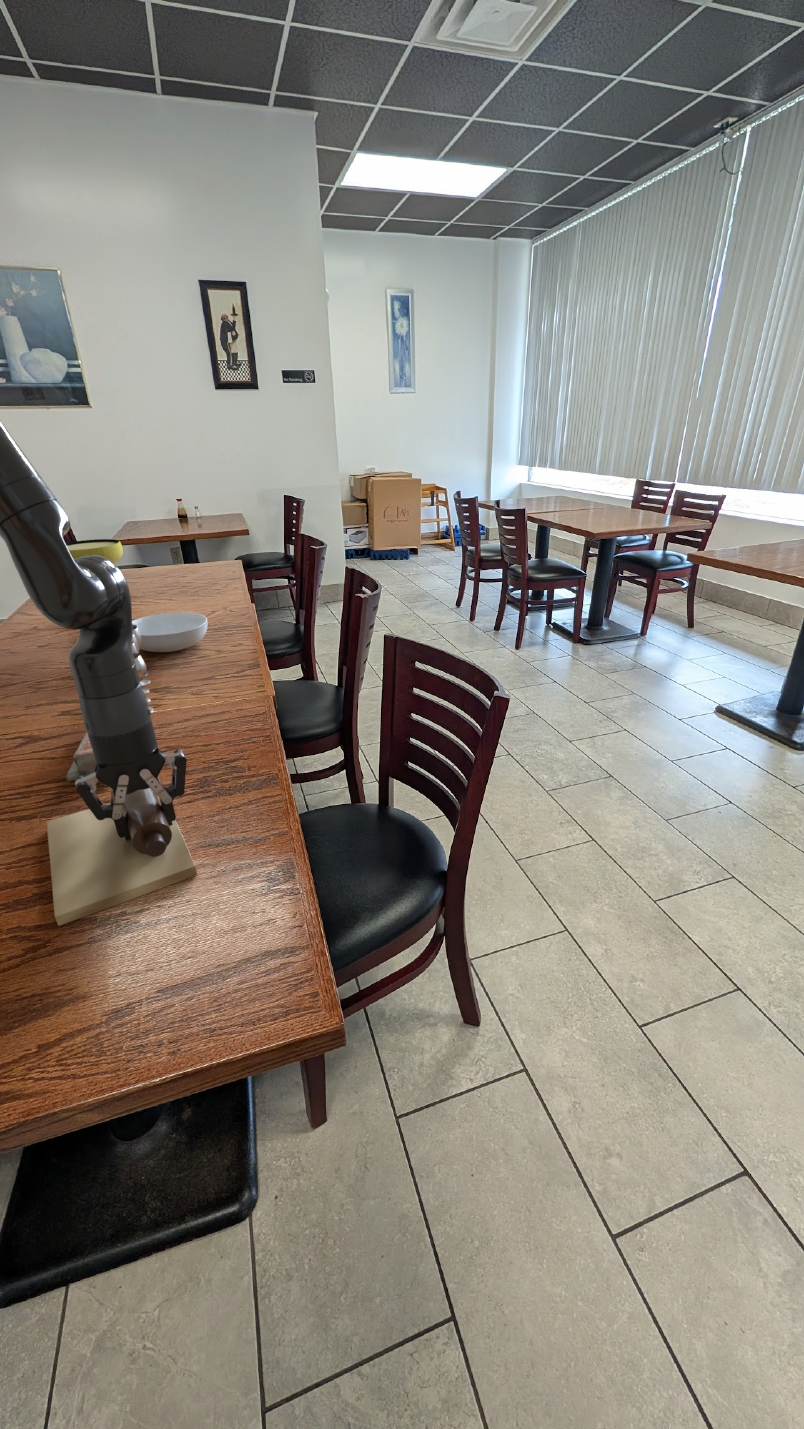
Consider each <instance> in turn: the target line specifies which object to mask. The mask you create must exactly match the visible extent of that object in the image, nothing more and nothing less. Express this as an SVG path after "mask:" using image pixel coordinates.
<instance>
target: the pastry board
mask: <svg viewBox="0 0 804 1429" xmlns="http://www.w3.org/2000/svg"><path fill="white" fill-rule="evenodd" d="M157 797H158V796H157ZM158 800H159V802H160V799H159V797H158ZM103 805H110V802H108V803H105V804H104V803H103ZM160 805H161V803H160ZM169 827H170V829H171V832H172V838H171V841H170V843H169V845H168V846H167V847H166V850H165V852H164V853H163V854H162V855H160V856H157V857H151V856H149V855H148V854H142V853H140V852H138V851H137V850H136V849H135V848H134V846H133V843H132V840H131V839H129V840H125V837H122V838H120V837H119V836H118V833H117V830H116V826H115V823H114V820H113V819H111V818H105V819H104V820H98V819H96V817H95V816H94V814H93V813H92V812H91V810H90V809H89V808H87V809H85V810H80V811H77V812H74V813H70V814H67V815H64V816H60V817H57V818H54V819H50V820H47V821H46V831H47V843H48V844H47V845H48V857H49V866H50V868H49V869H50V878H51V879H50V880H51V887H52V888H51V890H52V900H53V901H52V902H53V914H54V918H55V922H56V925H57V926H58V927H60V926H64V925H65V924H69V923H71V922H74V921H76V920H79V919H82V918H84V917H87V916H90V915H93V914H96V913H98V912H101V911H104V910H107V909H109V908H112V907H114V906H117V905H120V904H122V903H125V902H128V901H131V900H133V899H136V898H139V897H141V896H145V895H147V894H150V893H152V892H155V891H158V890H161V889H163V888H166V887H168V886H172V885H174V884H177V883H180V882H183V881H185V880H188V879H191V878H193V877H196V876H198V871H197V867H196V863H195V861H194V859H193V857H192V854H191V852H190V850H189V847H188V845H187V843H186V840H185V838H184V836H183V834H182V831H181V829H180V827H179V824H178V823H177V820H176V819H175V821H172V826H169Z"/></svg>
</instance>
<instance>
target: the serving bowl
mask: <svg viewBox="0 0 804 1429" xmlns="http://www.w3.org/2000/svg"><path fill="white" fill-rule="evenodd" d="M132 624H134V625H137V626H138V629H139V631H140V635H141V649H140V650H142V651H145V652H151V653H174V652H179V651H182V650H185V649H187V648H190V647H192V646H195V645H197V643H199V642H201V640H203V638H204V637H205V635H206V634H207V631H208V618H207V616H205V615H204V614H200V613H195V612H187V611H186V612H185V611H184V612H183V611H182V612H181V611H180V612H165V613H157V614H152V615H147V616H143V617H139V618H136V619H134V620H132Z"/></svg>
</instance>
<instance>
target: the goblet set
mask: <svg viewBox="0 0 804 1429" xmlns="http://www.w3.org/2000/svg"><path fill="white" fill-rule="evenodd" d="M141 650H142V649H141V635H140V631H139V629H138V626H137V625H134V624H132V653H133V656H134V660H135V664H136V668H137V672H138V676H139V680H140V683H141V686H142V689H143V691H144V694H145V695H146V694H148V693H149V692H150V689H149V688H147V687H145V686H148V685H149V684H150V683H151V680H150V679H148V678H146V677H147V676H149V674H150V672H148V671H147V665H146V662H145V660H144V658H143V657H142V655H141V654H140V651H141ZM146 699H147V703H148V704H149V702H151V698H149V697H146ZM149 708H150V712H151V713H153V712H154V708H153V707H152V706H149Z"/></svg>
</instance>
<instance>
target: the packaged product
mask: <svg viewBox="0 0 804 1429" xmlns="http://www.w3.org/2000/svg"><path fill="white" fill-rule="evenodd" d="M77 746H78V747H77V748H76V750H75V751H74V754H73V756H72V759H73V761H72V764H71V766H70V768H69V770H68V772H67V773H66V776H65V780H66V781H67V782H72V781H75V779H76V778H77V777H79V776H82V777H86V776H88V775H90V774H92V773H94V772H95V768H96V760H95V757H94V753H93V750H92V747H91V743H90V740H89V737H88V733H87V730H86V731H85V734H84V735H83V737H82V739H81V741H80V742H79V745H77Z"/></svg>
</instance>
